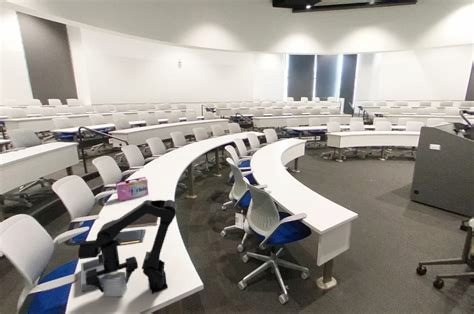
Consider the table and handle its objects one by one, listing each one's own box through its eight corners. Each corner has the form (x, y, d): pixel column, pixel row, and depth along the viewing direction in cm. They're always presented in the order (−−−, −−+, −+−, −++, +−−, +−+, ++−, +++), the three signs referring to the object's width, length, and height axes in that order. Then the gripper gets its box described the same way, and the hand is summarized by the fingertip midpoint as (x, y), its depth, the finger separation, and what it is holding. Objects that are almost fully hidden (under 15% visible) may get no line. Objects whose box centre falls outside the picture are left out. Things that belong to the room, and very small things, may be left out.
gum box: (147, 191, 213) (146, 176, 210) (150, 194, 207) (148, 179, 204) (117, 198, 200) (115, 182, 196) (119, 201, 193) (117, 185, 190)
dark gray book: (146, 227, 152) (142, 241, 137) (146, 230, 152) (142, 244, 138) (111, 231, 148) (103, 245, 133) (111, 234, 148) (103, 248, 134)
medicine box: (127, 289, 105) (125, 271, 103) (122, 297, 100) (119, 279, 98) (109, 288, 105) (106, 271, 103) (103, 296, 101) (100, 278, 99)
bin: (114, 259, 124) (113, 253, 123) (118, 278, 111) (117, 272, 110) (82, 269, 117) (81, 263, 116) (82, 291, 103) (81, 284, 103)
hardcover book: (157, 225, 158) (156, 221, 157) (118, 229, 154) (118, 225, 153) (159, 213, 173) (159, 210, 173) (125, 217, 169) (124, 214, 168)
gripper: (131, 238, 110) (135, 268, 114) (82, 251, 101) (88, 284, 104) (136, 250, 101) (140, 283, 105) (83, 267, 91) (89, 302, 95)
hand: (115, 287), depth 102 cm, fingers closed on medicine box, 9 cm apart
